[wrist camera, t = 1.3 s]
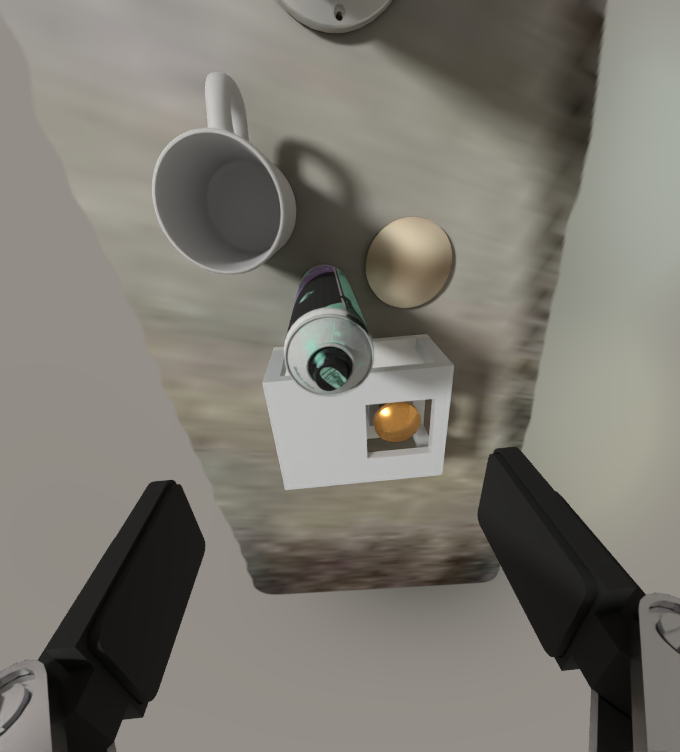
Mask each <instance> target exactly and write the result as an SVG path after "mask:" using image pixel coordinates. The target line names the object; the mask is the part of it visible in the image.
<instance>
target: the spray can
mask: <svg viewBox="0 0 680 752" xmlns="http://www.w3.org/2000/svg"><path fill="white" fill-rule="evenodd" d="M284 358H285V366H286V369H287V372H288V374H289V375H290V377H291V379H292V380H293V381H294V382H295V383H296V384H297V385H298V386H299V387H300V388H302V389H303V390H305V391H307V392H309V393H311V394H314V395H317V396H323V397H336V396H341V395H344V394H347V393H349V392H351V391H353V390H355V389H356V388H358V387H359V386H360V385H361V384H362V383H363V382H364V381H365V380H366V378H367V377H368V376H369V374H370V372H371V370H372V366H373V363H374V345H373V340H372V337H371V335H370V332H369V330H368V327H367V325H366V323H365V320H364V318H363V315H362V313H361V311H360V308H359V306H358V303H357V301H356V299H355V296H354V294H353V291H352V289H351V286H350V284H349V282H348V279H347V278H346V276H345V275H344V273H343V272H342V271H341V270H339V269H338V268H336V267H334V266H331V265H318V266H315V267H313V268H311V269H310V270H308V271H307V272H306V273H305V275H304V276H303V278H302V279H301V282H300V285H299V289H298V293H297V297H296V301H295V305H294V308H293V312H292V316H291V320H290V324H289V328H288V332H287V336H286V339H285V344H284Z"/></svg>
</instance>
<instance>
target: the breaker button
mask: <svg viewBox="0 0 680 752" xmlns="http://www.w3.org/2000/svg"><path fill="white" fill-rule="evenodd" d="M373 423H374V428H375V431H376V433H377V435H378V436H379V437H380V438H382V439H383V440H386V441H389V442H400V441H404V440H407V439H409V438H410V437H412V436H413V435H414V434H415V433H416V432H417V431H418V429H419V427H420V424H421V418H420V415H419V412H418V410H417V409H416V407H415V406H414V405H413V404H411V403H410V402H408V401H404V402H393V403H382V406H381V407H380V408H379V409H378V410H377V411H376V413H375V415H374V419H373Z"/></svg>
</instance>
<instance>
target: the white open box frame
mask: <svg viewBox="0 0 680 752" xmlns="http://www.w3.org/2000/svg"><path fill="white" fill-rule="evenodd" d="M372 340H373V345H374V363H373V366H372V370H371V372H370V374H369V376H368V377H367V378H366V380H365V381H364V382H363V383H362V384H361V385H360V386H359V387H358V388H356V389H355V390H353V391H351V392H349V393H347V394H344V395H341V396H336V397H323V396H317V395H314V394H311V393H309V392H307V391H305V390H303V389H302V388H300V387H299V386H298V385H297V384H296V383H295V382H294V381H293V380H292V379H291V377H290V375H289V374H288V372H287V369H286V366H285V358H284V347H274V349H273V352H272V355H271V358H270V361H269V364H268V367H267V370H266V373H265V376H264V379H263V382H262V384H263V388H264V393H265V398H266V402H267V407H268V412H269V416H270V421H271V426H272V430H273V435H274V440H275V444H276V449H277V454H278V458H279V463H280V468H281V472H282V477H283V482H284V486H285V490H290V489H301V488H311V487H321V486H332V485H342V484H352V483H362V482H373V481H383V480H393V479H404V478H414V477H424V476H435V475H442V470H443V462H444V453H445V444H446V435H447V426H448V417H449V408H450V400H451V391H452V382H453V373H454V365H453V363H452V362H451V361H450V360H449V359H448V358H447V357H446V355H445V354H444V353H443V352H442V351H441V350H440V348H439V347H438V346H437V345H436V344H435V343H434V342H433V340H432V339H431V338H430V337H429V336H428V335H427V334H421V335H409V336H398V337H387V338H375V339H372ZM425 399H432V406H431V419H430V431H429V435H428V433H427V431H426V429H425V427H424V425H423V424H424V410H425ZM404 401H408V402H410V403H411V404H413V405H414V406H415V407H416V409H417V410H418V412H419V415H420V418H421V424H420V427H419V429H418V431H417V432H416V433H415V434H414V435H413V439H414V441H415V443H416V446H417V448H408V449H398V450H387V451H377V452H367V439H372V438H380V437H379V436H378V435H377V433H376V431H375V428H374V423H373V419H374V415H375V413H376V411H377V410H378V409H379V408H380V407H381V406H382V403H393V402H404Z"/></svg>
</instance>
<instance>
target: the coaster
mask: <svg viewBox="0 0 680 752" xmlns="http://www.w3.org/2000/svg"><path fill="white" fill-rule="evenodd" d="M451 266H452V249H451V244H450V242H449V239H448V237H447V235H446V234H445V232H444V231H443V230H442V229H441V228H440V227H439V226H438V225H437V224H435V223H434V222H432V221H430V220H428V219H425V218H420V217H405V218H401V219H398V220H396V221H393V222H391V223H390V224H388V225H387V226H386V227H384V228H383V229H382V230H381V231H380V232H379V233H378V234H377V236H376V237H375V238H374V240H373V241H372V243H371V245H370V248H369V250H368V253H367V257H366V276H367V280H368V283H369V285H370V287H371V289H372V290H373V292H374V293H375V295H376V296H377V297H378V298H379V299H380V300H382V301H383V302H385V303H386V304H388V305H391V306H393V307H397V308H411V307H416V306H419V305H421V304H424V303H426V302H427V301H429V300H430V299H432V298H433V297H434V296H435V295H436V294H437V293H438V292H439V291H440V290H441V289H442V287H443V286H444V284H445V283H446V281H447V279H448V276H449V274H450V271H451Z"/></svg>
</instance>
